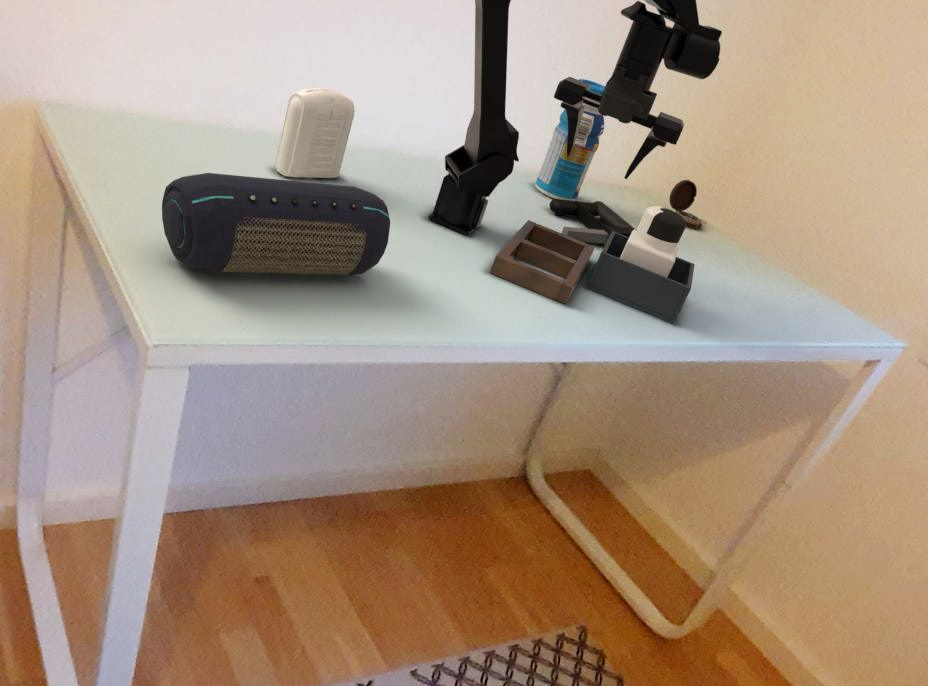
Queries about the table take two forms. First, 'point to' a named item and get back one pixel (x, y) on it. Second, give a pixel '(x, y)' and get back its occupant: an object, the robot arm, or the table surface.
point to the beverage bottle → (568, 172)
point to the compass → (685, 202)
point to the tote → (641, 282)
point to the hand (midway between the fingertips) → (596, 166)
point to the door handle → (591, 220)
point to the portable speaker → (273, 225)
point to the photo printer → (315, 134)
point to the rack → (543, 261)
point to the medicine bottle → (655, 240)
